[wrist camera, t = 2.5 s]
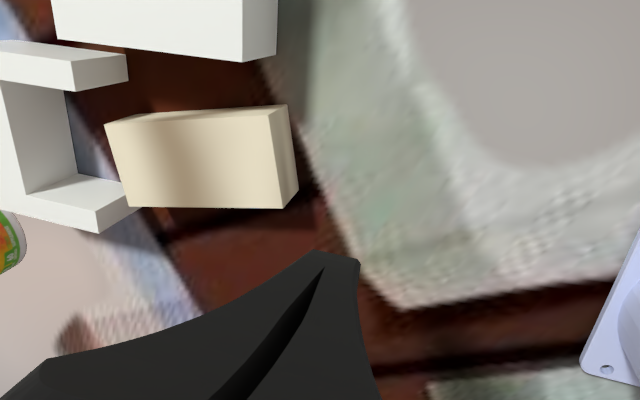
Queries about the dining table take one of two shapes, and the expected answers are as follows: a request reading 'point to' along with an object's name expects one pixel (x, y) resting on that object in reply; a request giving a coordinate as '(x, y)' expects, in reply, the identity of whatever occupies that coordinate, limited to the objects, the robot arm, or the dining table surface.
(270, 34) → the white u-shaped block
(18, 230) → the supplement bottle
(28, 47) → the end cap
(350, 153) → the dining table surface
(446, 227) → the dining table surface
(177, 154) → the beige rectangular block
